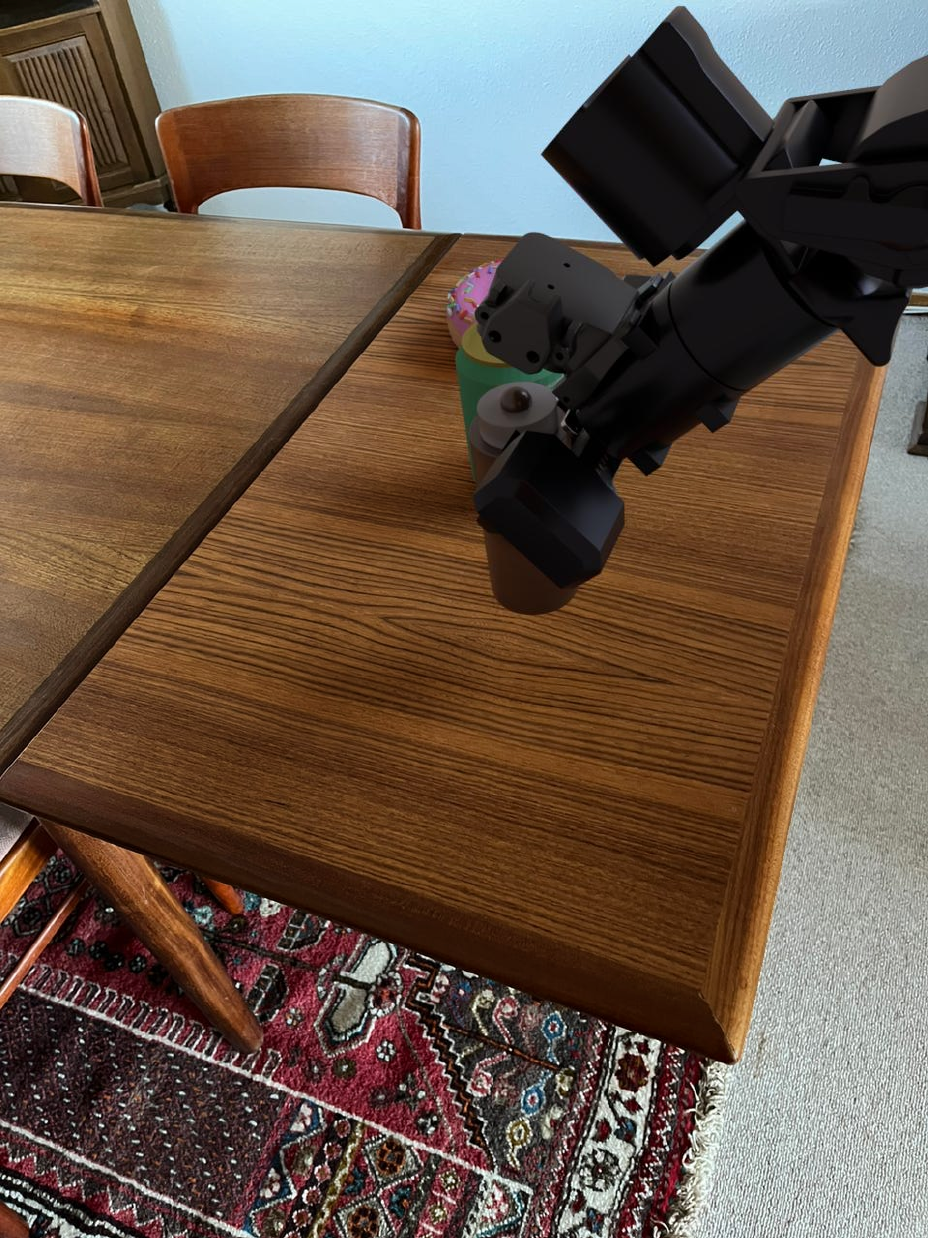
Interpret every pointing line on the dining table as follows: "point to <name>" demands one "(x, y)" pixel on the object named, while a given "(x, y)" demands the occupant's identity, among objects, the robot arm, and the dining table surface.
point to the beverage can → (487, 376)
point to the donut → (468, 299)
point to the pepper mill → (488, 434)
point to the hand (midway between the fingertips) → (503, 493)
